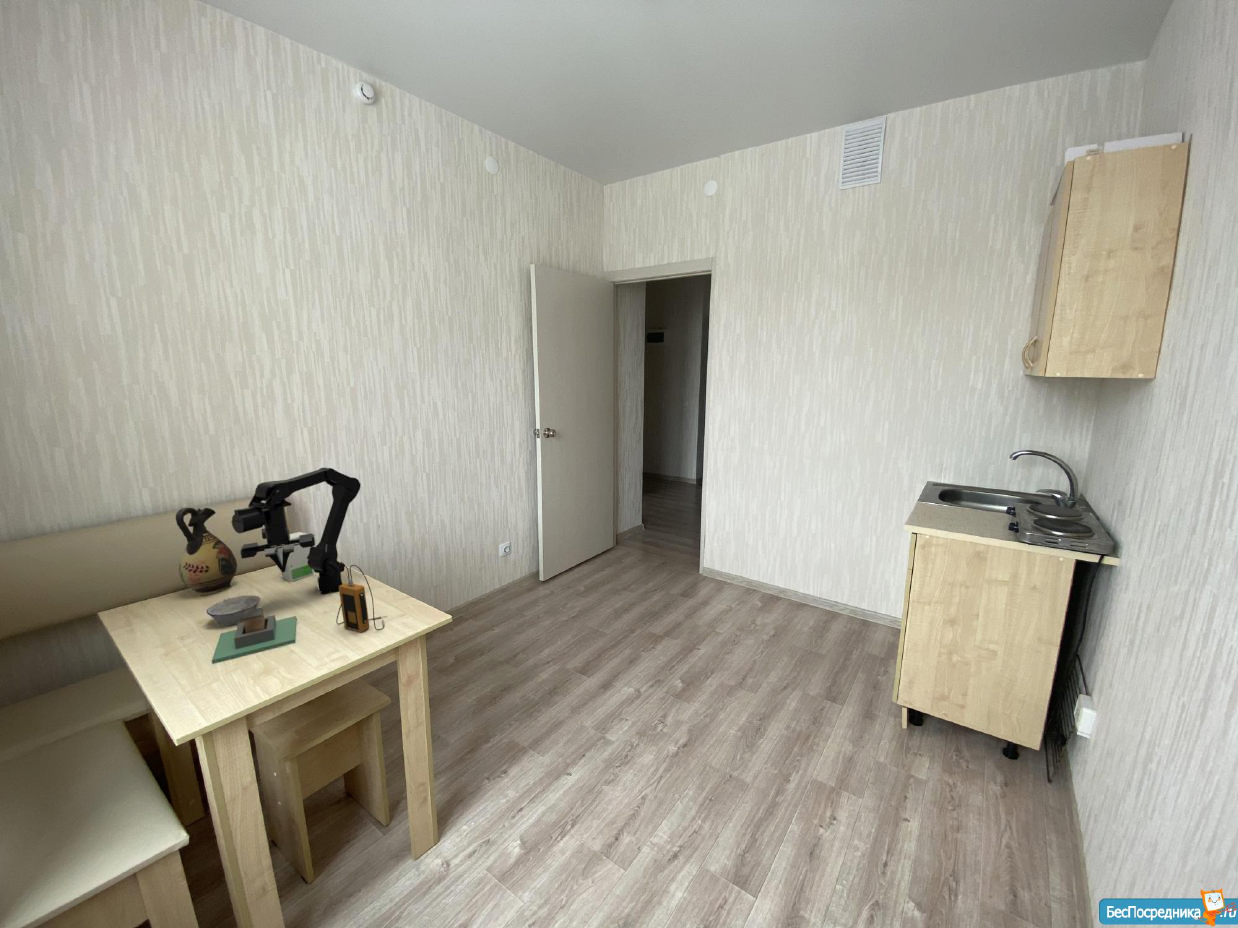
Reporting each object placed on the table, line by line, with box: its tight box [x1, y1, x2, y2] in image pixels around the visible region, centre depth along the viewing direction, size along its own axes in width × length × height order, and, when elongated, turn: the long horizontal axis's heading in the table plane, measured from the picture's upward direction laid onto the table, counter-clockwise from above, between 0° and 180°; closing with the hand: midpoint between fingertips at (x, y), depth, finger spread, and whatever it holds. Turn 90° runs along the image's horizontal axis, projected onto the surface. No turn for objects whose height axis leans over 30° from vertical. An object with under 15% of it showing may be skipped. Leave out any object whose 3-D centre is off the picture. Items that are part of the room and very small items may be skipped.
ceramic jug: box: [175, 507, 238, 596], centre depth 173 cm, size 17×15×30 cm
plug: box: [243, 606, 266, 634], centre depth 141 cm, size 4×6×7 cm
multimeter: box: [335, 561, 387, 633], centre depth 147 cm, size 15×10×20 cm
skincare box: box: [278, 531, 315, 583], centre depth 184 cm, size 8×7×16 cm
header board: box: [211, 614, 297, 665], centre depth 141 cm, size 18×16×4 cm
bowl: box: [206, 594, 261, 626], centre depth 154 cm, size 13×13×5 cm
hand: (283, 571), depth 158 cm, fingers closed
